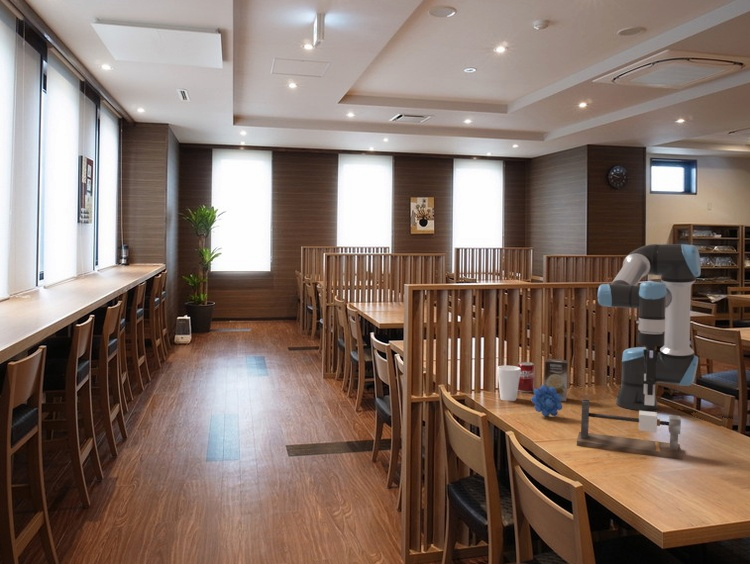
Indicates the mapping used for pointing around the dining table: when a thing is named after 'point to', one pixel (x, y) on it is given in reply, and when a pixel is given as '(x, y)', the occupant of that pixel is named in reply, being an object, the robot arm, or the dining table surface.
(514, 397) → the foam cup
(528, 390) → the soda can
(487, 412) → the dining table surface
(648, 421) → the sleeve
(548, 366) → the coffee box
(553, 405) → the blue knobbed wheel
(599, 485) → the dining table surface
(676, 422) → the sliding block rail
